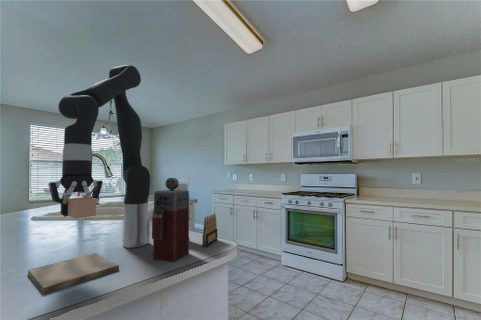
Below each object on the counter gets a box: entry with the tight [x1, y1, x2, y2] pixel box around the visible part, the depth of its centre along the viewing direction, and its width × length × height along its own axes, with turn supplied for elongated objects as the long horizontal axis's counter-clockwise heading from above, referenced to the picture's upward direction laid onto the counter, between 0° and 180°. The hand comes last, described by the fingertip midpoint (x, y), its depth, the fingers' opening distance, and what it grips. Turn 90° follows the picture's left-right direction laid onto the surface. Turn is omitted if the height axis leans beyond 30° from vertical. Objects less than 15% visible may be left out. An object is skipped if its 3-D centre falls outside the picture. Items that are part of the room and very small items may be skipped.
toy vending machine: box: [151, 177, 190, 263], centre depth 82 cm, size 9×11×28 cm
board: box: [27, 252, 120, 295], centre depth 70 cm, size 18×18×2 cm
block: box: [67, 195, 97, 219], centre depth 70 cm, size 5×5×14 cm
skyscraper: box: [174, 177, 191, 243], centre depth 101 cm, size 8×8×28 cm
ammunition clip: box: [202, 212, 218, 249], centre depth 98 cm, size 11×2×12 cm, turn 161°
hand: (76, 214), depth 71 cm, fingers closed on block, 5 cm apart
